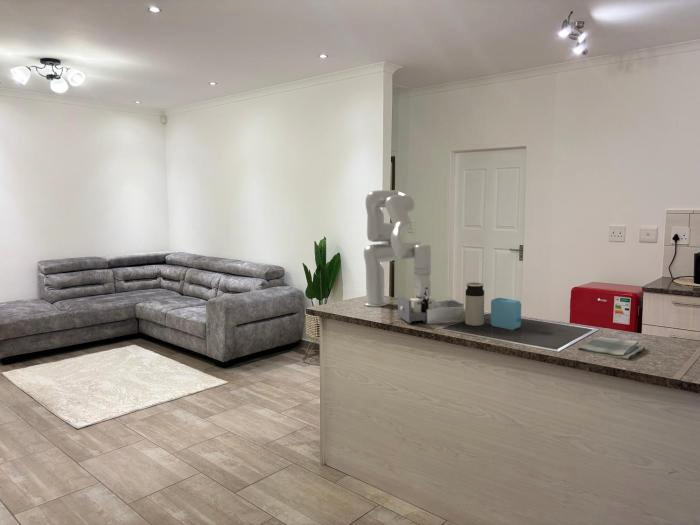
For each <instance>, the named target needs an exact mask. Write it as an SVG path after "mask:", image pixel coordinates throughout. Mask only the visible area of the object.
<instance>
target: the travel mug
mask: <svg viewBox="0 0 700 525" xmlns="http://www.w3.org/2000/svg"><path fill="white" fill-rule="evenodd" d="M464 305H465V307H464V308H465V309H464V310H465V312H464V315H465V316H464V319H465V320H464V322H465V324H466V325H467V326H472V327H476V326H478V327H479V326H482V325H484V324H485V289H484V283H483V282H474V281H473V282H466V289H465V304H464Z"/></svg>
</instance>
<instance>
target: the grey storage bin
mask: <svg viewBox="0 0 700 525" xmlns="http://www.w3.org/2000/svg"><path fill="white" fill-rule="evenodd" d="M464 305H465V304H464V303H463V302H461V301H458V300H456V299H454V298H451V297H449V296H448V297H447V298H446V300H435V308H437V309H426V320H422V322H423V323H425V325H426V324H427V325H432V324H434V325H435V324H446V323H457V322H465V320H464V319H465V316H464V315H465V312H464V310H465V309H464V308H465V307H464Z"/></svg>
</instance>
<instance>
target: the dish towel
mask: <svg viewBox="0 0 700 525" xmlns="http://www.w3.org/2000/svg"><path fill="white" fill-rule="evenodd" d="M577 350H578V351H579V352H585V353H590V354H595V355H599V356H603V357H609V358H612V359H613V358H614V359H620V360H624V361H629V360H631V359H633V358H634V357H636V356H638V355H640V354H641V353H642V352H643V351H646V346H639V341H638V340H628V339H627V340H626V339H619V338H611V337H603V336H602V337H601V336H598V337H597V336H596V337H594V338H592V339H591V340H589V341H588V340H587V341H586V342H585V343H583V344H581V345H580V346H579V347H577Z"/></svg>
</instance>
